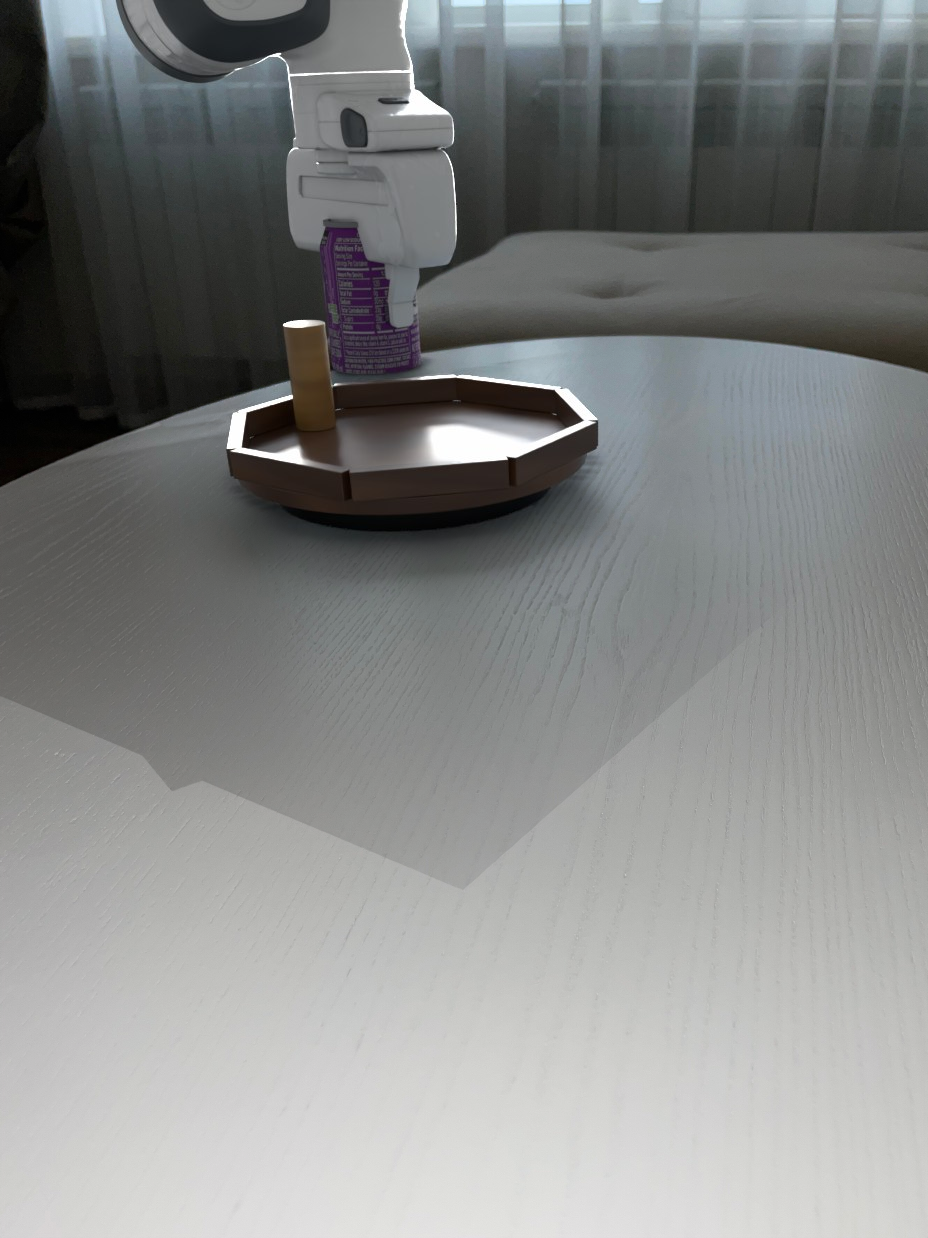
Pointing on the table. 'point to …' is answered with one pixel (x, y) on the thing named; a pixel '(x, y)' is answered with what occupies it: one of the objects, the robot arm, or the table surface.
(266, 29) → the robot arm
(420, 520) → the turntable base
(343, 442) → the tray
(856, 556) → the table surface
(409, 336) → the beverage can
